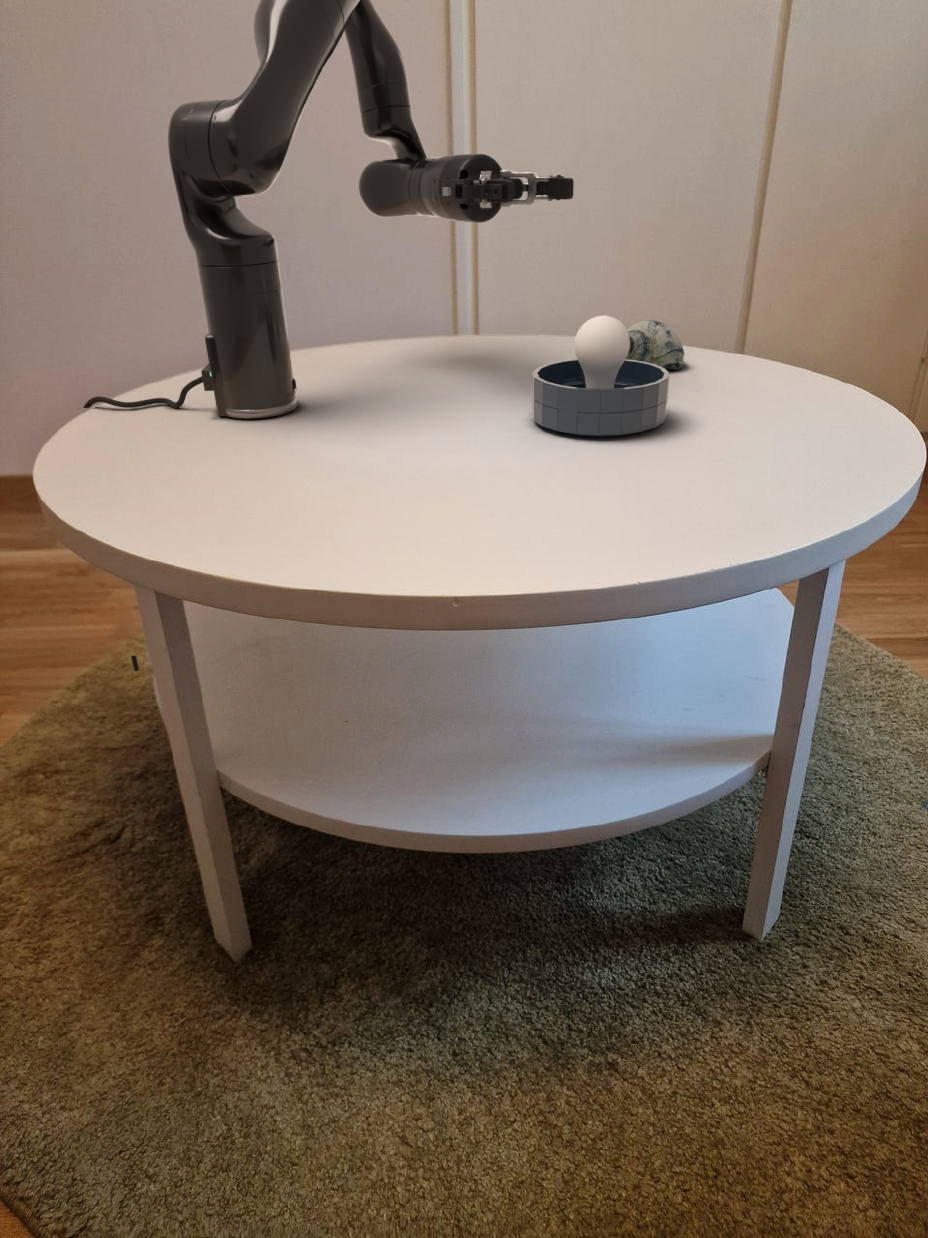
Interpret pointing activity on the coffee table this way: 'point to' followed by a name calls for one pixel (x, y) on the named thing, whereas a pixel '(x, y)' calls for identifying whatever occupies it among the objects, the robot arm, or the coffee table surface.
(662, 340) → the seashell
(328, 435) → the coffee table surface
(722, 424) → the coffee table surface
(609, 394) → the bowl
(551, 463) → the coffee table surface
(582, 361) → the lightbulb
